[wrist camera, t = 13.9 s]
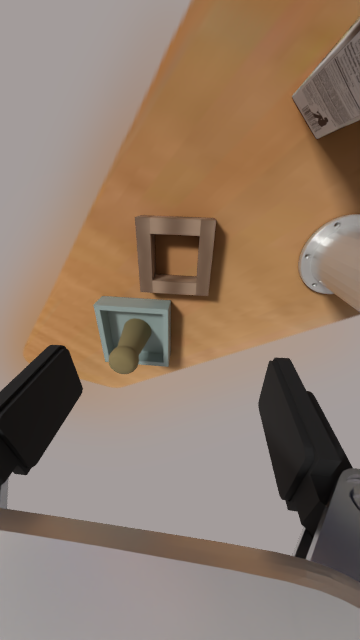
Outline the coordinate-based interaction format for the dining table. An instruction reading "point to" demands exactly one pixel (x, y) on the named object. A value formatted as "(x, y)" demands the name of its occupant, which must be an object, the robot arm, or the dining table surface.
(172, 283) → the socket
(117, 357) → the cork
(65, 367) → the robot arm
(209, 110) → the dining table surface
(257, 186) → the dining table surface
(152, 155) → the dining table surface
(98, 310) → the tray
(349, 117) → the coffee box
